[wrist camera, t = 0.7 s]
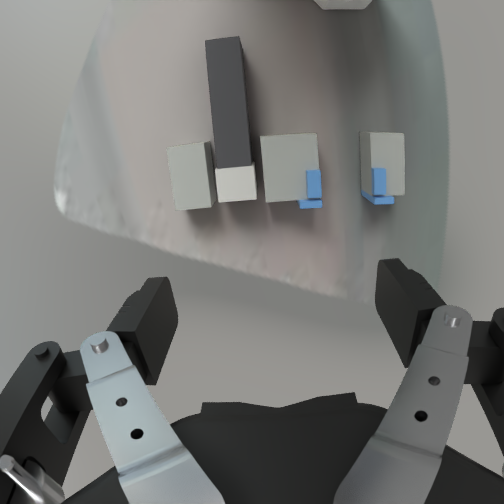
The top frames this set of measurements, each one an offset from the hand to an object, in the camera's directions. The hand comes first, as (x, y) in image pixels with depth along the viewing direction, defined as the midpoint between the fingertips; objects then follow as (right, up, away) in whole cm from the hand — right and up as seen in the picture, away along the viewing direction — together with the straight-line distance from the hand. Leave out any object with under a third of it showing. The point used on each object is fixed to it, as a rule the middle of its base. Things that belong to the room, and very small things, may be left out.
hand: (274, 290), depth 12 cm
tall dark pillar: (-3, +14, +18) cm, 23 cm away
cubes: (+3, +10, +19) cm, 22 cm away
